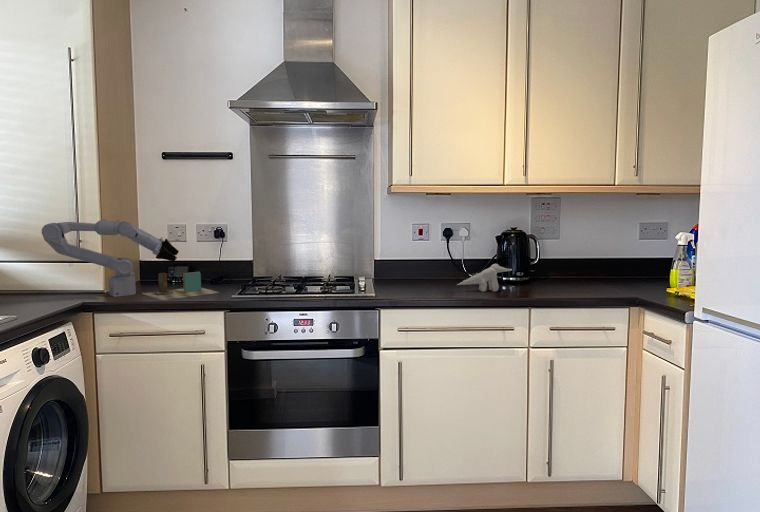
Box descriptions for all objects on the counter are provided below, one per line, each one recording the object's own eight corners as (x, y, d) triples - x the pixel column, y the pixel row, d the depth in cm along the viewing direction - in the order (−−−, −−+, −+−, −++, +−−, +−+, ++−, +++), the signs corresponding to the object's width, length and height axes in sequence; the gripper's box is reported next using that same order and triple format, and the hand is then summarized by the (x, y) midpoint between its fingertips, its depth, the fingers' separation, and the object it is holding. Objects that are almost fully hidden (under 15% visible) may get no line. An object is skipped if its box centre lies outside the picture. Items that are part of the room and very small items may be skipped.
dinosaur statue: (516, 289, 215) (514, 262, 214) (458, 296, 214) (456, 269, 213) (511, 287, 222) (508, 261, 221) (455, 294, 221) (452, 267, 220)
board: (161, 302, 201) (161, 300, 201) (141, 295, 217) (141, 293, 217) (220, 294, 217) (220, 292, 217) (197, 288, 233) (197, 286, 233)
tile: (185, 292, 218) (184, 273, 217) (183, 292, 219) (182, 273, 218) (201, 290, 222) (200, 271, 222) (200, 290, 223) (199, 271, 223)
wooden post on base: (158, 295, 211) (157, 274, 211) (153, 294, 215) (152, 273, 214) (173, 293, 216) (172, 273, 215) (168, 292, 219) (167, 272, 218)
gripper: (148, 238, 210) (179, 254, 216) (153, 227, 223) (183, 243, 229) (139, 252, 211) (170, 268, 217) (145, 240, 224) (174, 256, 230)
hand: (176, 256), depth 223 cm, fingers open, 7 cm apart
